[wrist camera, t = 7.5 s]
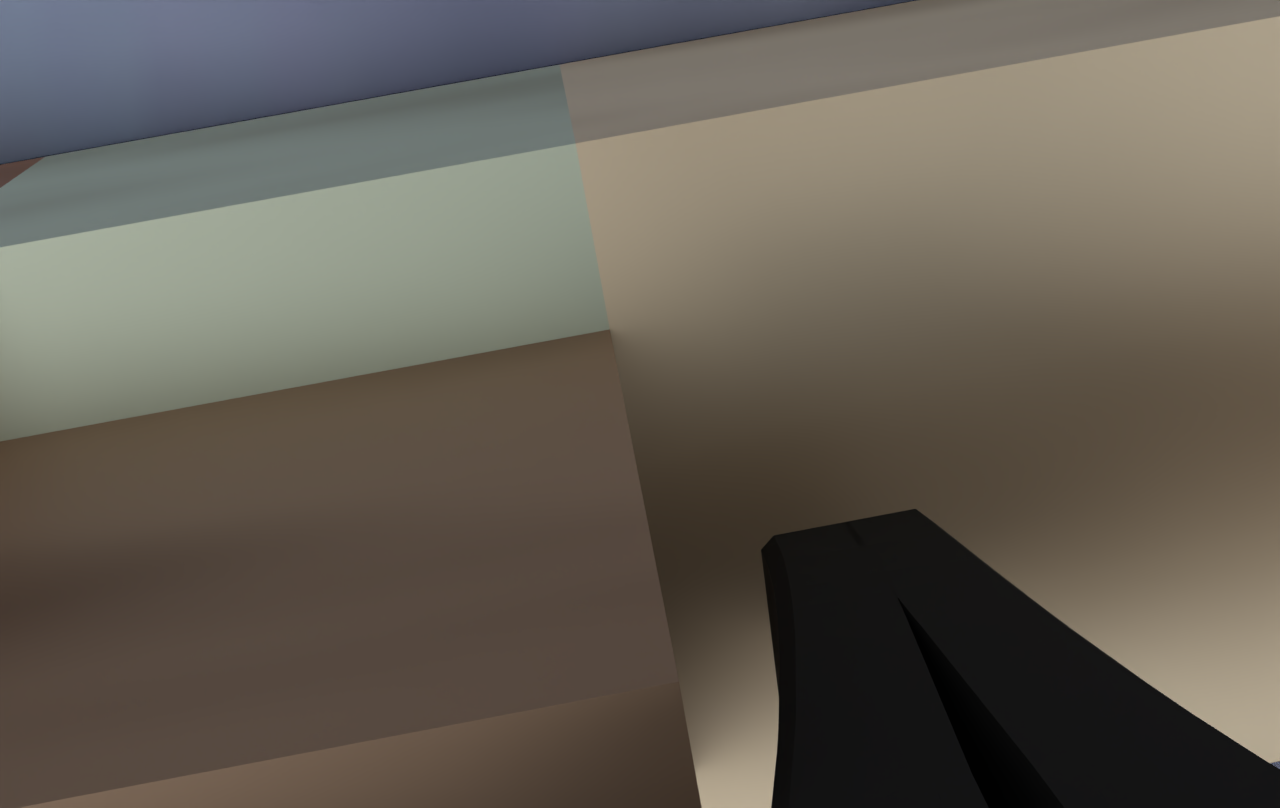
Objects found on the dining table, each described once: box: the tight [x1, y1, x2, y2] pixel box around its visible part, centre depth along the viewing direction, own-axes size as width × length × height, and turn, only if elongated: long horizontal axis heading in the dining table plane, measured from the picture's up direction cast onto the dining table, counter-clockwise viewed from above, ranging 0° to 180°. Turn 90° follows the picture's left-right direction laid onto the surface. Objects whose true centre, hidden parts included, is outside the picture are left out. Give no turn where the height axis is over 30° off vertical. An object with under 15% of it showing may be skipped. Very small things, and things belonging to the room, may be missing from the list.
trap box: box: [0, 0, 1280, 808], centre depth 11 cm, size 14×22×6 cm, turn 99°
